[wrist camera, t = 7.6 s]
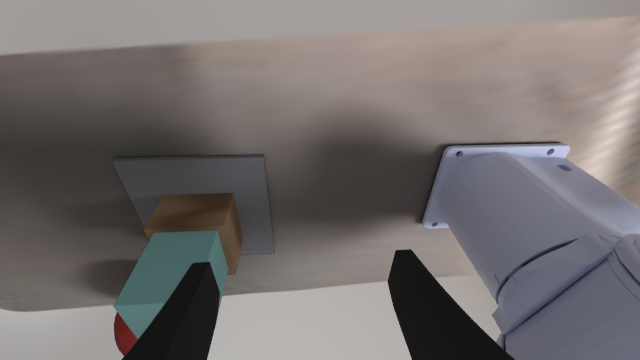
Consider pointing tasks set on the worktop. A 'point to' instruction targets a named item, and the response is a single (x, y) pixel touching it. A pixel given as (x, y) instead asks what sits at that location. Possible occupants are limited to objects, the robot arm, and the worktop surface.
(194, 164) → the mat
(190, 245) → the teal block
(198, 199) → the walnut block
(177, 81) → the worktop surface
